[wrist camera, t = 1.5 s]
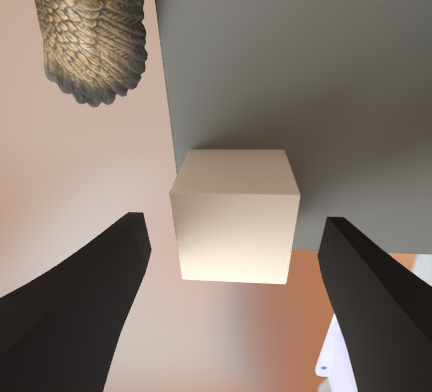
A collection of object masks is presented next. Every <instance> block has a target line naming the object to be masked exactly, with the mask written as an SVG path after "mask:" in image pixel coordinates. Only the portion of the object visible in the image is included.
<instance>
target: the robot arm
mask: <svg viewBox="0 0 432 392" xmlns="http://www.w3.org/2000/svg"><path fill="white" fill-rule="evenodd" d="M150 254H151V245H150V241H149V237H148V232H147V228H146V223H145V219H144V214H143V213H137V212H136V213H135V212H134V213H133V212H128V213H127V214H125V215H124V216H123V217H121V218H120V219H119V220H118V221H116V222H115V223H114V224H112V225H111V226H110V227H109V228H107V229H106V230H105V231H104V232H102V233H101V234H100V235H98V236H97V237H96V238H94V239H93V240H92V241H90V242H89V243H88V244H87V245H85V246H84V247H82V248H81V249H79V250H78V251H77V252H75V253H74V254H72V255H71V256H70V257H68V258H67V259H65V260H64V261H63V262H61V263H60V264H58V265H57V266H55V267H53V268H52V269H51V270H49V271H47V272H45V273H44V274H42V275H41V276H39V277H37V278H36V279H34V280H32V281H31V282H29V283H27V284H25V285H23V286H22V287H20V288H18V289H16V290H14V291H13V292H11V293H9V294H7V295H5V296H3V297H1V298H0V392H103V390H104V386H105V383H106V379H107V375H108V372H109V369H110V365H111V362H112V359H113V355H114V352H115V349H116V346H117V342H118V339H119V336H120V333H121V330H122V328H123V325H124V323H125V320H126V318H127V316H128V313H129V311H130V308H131V306H132V304H133V301H134V299H135V297H136V294H137V292H138V289H139V287H140V285H141V282H142V279H143V277H144V275H145V272H146V269H147V265H148V262H149V258H150ZM318 260H319V265H320V270H321V274H322V278H323V282H324V285H325V288H326V291H327V293H328V296H329V299H330V302H331V305H332V307H333V310H334V315H333V318H332V321H331V324H330V327H329V330H328V333H327V336H326V339H325V342H324V344H323V347H322V350H321V353H320V356H319V359H318V362H317V365H316V368H315V371H316V374H317V375H318V376H323V377H328V378H329V382H330V386H331V390H332V392H432V287H431V286H430V285H429V284H427V283H426V282H424V281H423V280H421V279H420V278H419V277H417V276H416V275H415V274H413V273H412V272H411V271H409V270H408V269H407V268H405V267H404V266H403V265H401V264H400V263H399V262H397V261H396V260H395V259H393V258H392V257H391V256H390V255H389V254H387V253H386V252H385V251H384V250H382V249H381V248H380V247H379V246H378V245H376V244H375V243H374V242H373V241H372V240H371V239H369V238H368V237H367V236H366V235H365V234H364V233H362V232H361V231H360V230H359V229H358V228H357V227H355V226H354V225H353V224H352V223H351V222H349V221H348V220H347V219H346V218H344V217H327V219H326V223H325V227H324V231H323V235H322V239H321V243H320V248H319V252H318Z"/></svg>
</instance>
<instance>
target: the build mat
mask: <svg viewBox="0 0 432 392" xmlns="http://www.w3.org/2000/svg"><path fill="white" fill-rule="evenodd" d="M155 4H156V12H157V20H158V28H159V36H160V44H161V51H162V60H163V67H164V76H165V84H166V92H167V99H168V107H169V115H170V123H171V131H172V139H173V147H174V155H175V163H176V171H177V175H178V173H179V171H180V168H181V166H182V164H183V162H184V160H185V157H186V155H187V153H188V151H189V149H245V150H285V153H286V155H287V158H288V161H289V164H290V167H291V169H292V172H293V175H294V178H295V181H296V183H297V186H298V189H299V192H300V195H301V196H300V202H299V208H298V214H297V220H296V226H295V232H294V238H293V244H292V249H296V250H319V248H320V243H321V239H322V235H323V231H324V227H325V223H326V219H327V217H344V218H346V219H347V220H348V221H349V222H351V223H352V224H353V225H354V226H355V227H357V228H358V229H359V230H360V231H361V232H362V233H364V234H365V235H366V236H367V237H368V238H369V239H371V240H372V241H373V242H374V243H375V244H376V245H378V246H379V247H380V248H381V249H382V250H384V251H385V252H386V253H407V254H432V0H155Z"/></svg>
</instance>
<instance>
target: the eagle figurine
mask: <svg viewBox="0 0 432 392" xmlns="http://www.w3.org/2000/svg"><path fill="white" fill-rule="evenodd" d="M143 4H144V0H35V5H36V9H37V15H38V20H39V25H40V29H41V33H42V36H43V43H44V69H45V75H46V77H47V79H48V80H50V81H51V82H56V83H57V85H58V86H59V88H60V90H61V91H62V92H63V93H66V94H73V97H74V99H75V100H76V101H77V103H79V104H84V103H86V102H87V103H88V104H89V105H90V106H91V107H98V106H99V104H100V103H101V102H103V103H104V104H106V105H110V104H112V103H113V101H114V100H115V96H116V94H118V95H120V96H121V97H123V96H126V95H127V91H128V89H134V88H136V87H137V84H138V83H139V81H140V79H141V74H142V73H143V72H145V61H146V60H147V52H146V50H145V48H144V46H145V43H146V41H145V37H146V30H145V28H144V25H143V24H142V22H141V21H142V20H143V19H144V12H143Z"/></svg>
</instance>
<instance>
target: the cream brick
mask: <svg viewBox="0 0 432 392" xmlns="http://www.w3.org/2000/svg"><path fill="white" fill-rule="evenodd" d="M300 196H301V195H300V192H299V189H298V186H297V183H296V181H295V178H294V175H293V172H292V169H291V167H290V164H289V161H288V158H287V155H286V153H285V150H245V149H189V151H188V153H187V155H186V157H185V160H184V162H183V164H182V166H181V168H180V171H179V173H178V175H177V177H176V179H175V182H174V184H173V186H172V188H171V191H170V199H171V205H172V213H173V219H174V226H175V233H176V240H177V246H178V253H179V259H180V266H181V273H182V279H186V280H187V279H188V280H208V281H229V282H250V283H251V282H252V283H271V284H286V281H287V274H288V268H289V262H290V256H291V250H292V244H293V238H294V232H295V226H296V220H297V214H298V208H299V202H300Z"/></svg>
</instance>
